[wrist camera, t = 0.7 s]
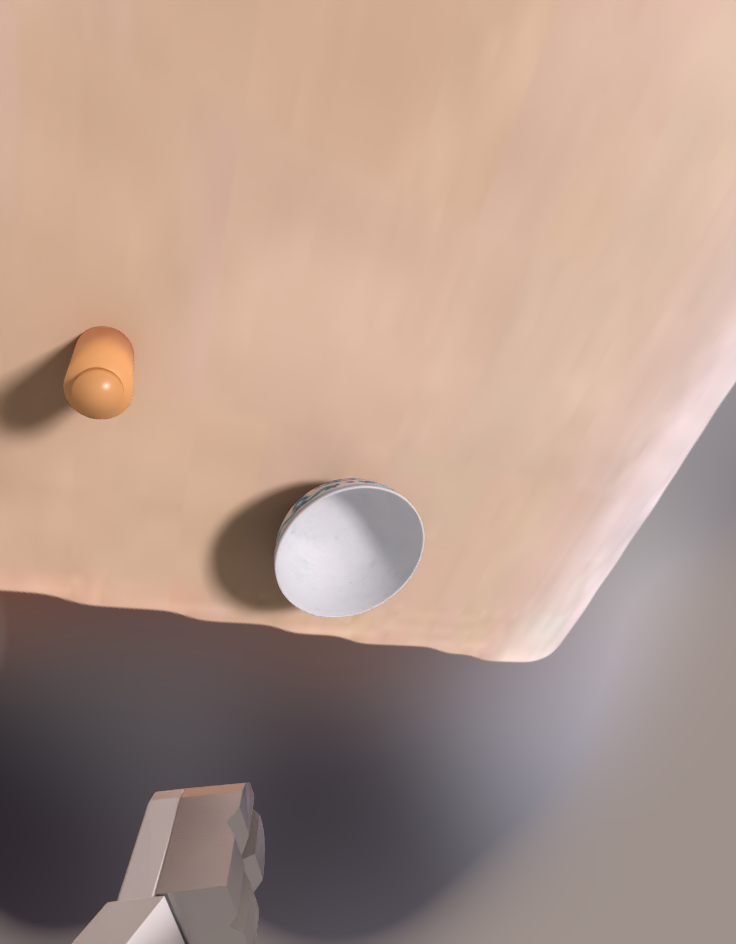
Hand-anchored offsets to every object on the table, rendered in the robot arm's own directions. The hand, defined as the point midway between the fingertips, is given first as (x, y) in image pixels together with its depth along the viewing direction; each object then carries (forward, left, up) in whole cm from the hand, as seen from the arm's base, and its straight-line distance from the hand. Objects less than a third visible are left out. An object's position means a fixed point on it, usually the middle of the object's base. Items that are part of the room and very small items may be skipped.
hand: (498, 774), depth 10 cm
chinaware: (+24, +11, -47) cm, 54 cm away
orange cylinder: (+6, -9, -46) cm, 47 cm away
